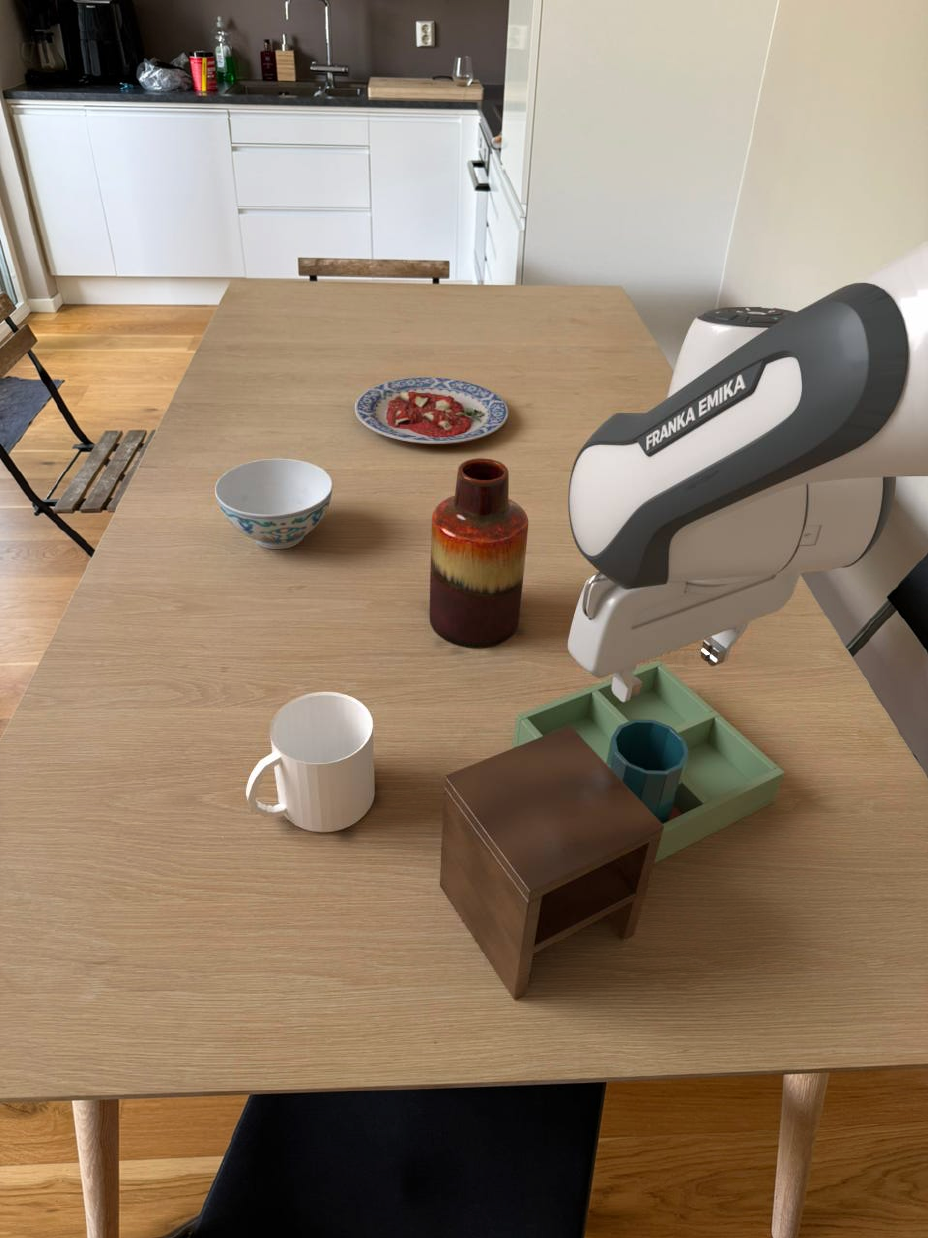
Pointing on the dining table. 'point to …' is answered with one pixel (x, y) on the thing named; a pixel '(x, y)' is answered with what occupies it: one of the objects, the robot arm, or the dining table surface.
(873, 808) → the dining table surface
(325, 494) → the chinaware
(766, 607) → the robot arm
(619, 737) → the cup
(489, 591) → the vase
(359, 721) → the mug
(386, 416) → the ceramic plate
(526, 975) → the shelf
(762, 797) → the tray
